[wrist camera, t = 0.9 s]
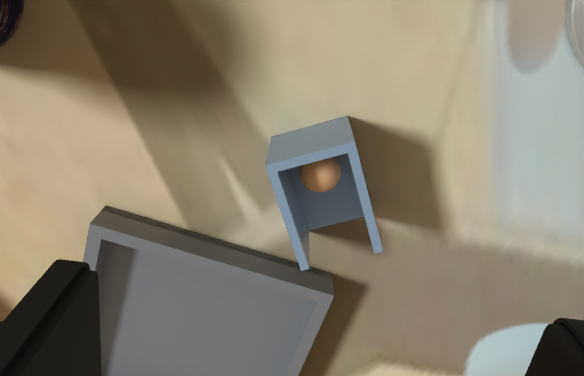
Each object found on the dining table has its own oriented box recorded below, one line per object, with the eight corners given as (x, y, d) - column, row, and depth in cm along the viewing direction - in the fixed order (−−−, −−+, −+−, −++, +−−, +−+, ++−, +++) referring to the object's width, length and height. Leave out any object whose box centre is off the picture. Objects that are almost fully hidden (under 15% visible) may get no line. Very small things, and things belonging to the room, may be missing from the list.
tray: (332, 273, 40) (334, 295, 37) (267, 420, 47) (265, 448, 44) (105, 205, 38) (89, 223, 35) (73, 369, 45) (58, 395, 42)
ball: (346, 154, 35) (348, 163, 32) (332, 190, 36) (332, 203, 33) (307, 140, 35) (306, 148, 32) (294, 177, 36) (291, 189, 33)
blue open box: (271, 136, 35) (265, 165, 30) (347, 115, 34) (354, 141, 29) (301, 228, 38) (300, 271, 33) (371, 211, 37) (383, 251, 32)
